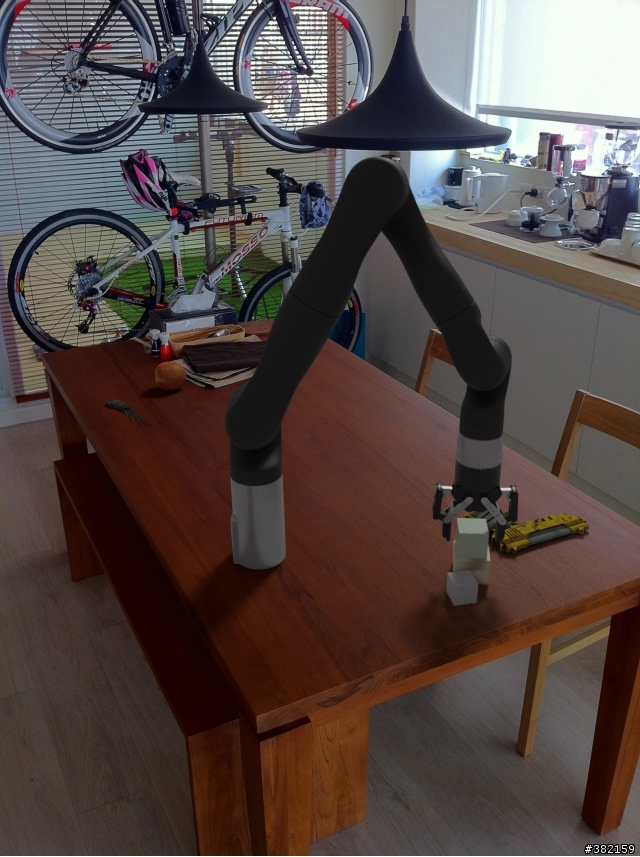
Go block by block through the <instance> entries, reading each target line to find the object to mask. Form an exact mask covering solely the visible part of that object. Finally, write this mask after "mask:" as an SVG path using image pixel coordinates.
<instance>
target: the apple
mask: <svg viewBox="0 0 640 857" xmlns="http://www.w3.org/2000/svg"><path fill="white" fill-rule="evenodd" d="M154 380H155V382H156V384H157V385H156V386H158V387H159V388H160V389H162V390H165V391H175V390H177V389H178V390H179V389H180V388H181V387H182V386H184V384H185V383H186V381H187V372H186V369H185V368H184V366H182V365H181V364H180V363H178V362H176V361H164V362H161V363H160V364H158V365H157V366H156V368H155V370H154Z"/></svg>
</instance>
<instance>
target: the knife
mask: <svg viewBox="0 0 640 857" xmlns="http://www.w3.org/2000/svg"><path fill="white" fill-rule="evenodd" d="M105 404H106V406H107V405H108V406H107V407H109V406H110V408H113V407H115V408H114V409H116V408H118V410H119V409H120V411H121V410H122V412H123V411H125V414H126V415H127V416H128V415H130V416H132V417H134V418H138V419H140V420H141V419H142V418H143V419H144V416H142V415H140V414H139V413H138V412H136V411H135V410H134V409H133V408H131V405H129V404H128V403H126V402H124V401H122V400H119V399H109V400H107V401H105Z"/></svg>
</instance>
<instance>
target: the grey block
mask: <svg viewBox="0 0 640 857" xmlns="http://www.w3.org/2000/svg"><path fill="white" fill-rule="evenodd" d="M445 588H446V589H445V591H446V594H447V596H448V597H449V600H450V599H451V600H450V602H451V603H452V605H453V606H454V607H457V606H463V605H471V603H472V604H478V593H479V592H478V591H479V584H478V582H477V581H476V579H475V578H474V576H473V574H472V573H471V571H470V570H466V571H457V572H453V571H451V572H450V571H448V572H447V573H446V587H445Z"/></svg>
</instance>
